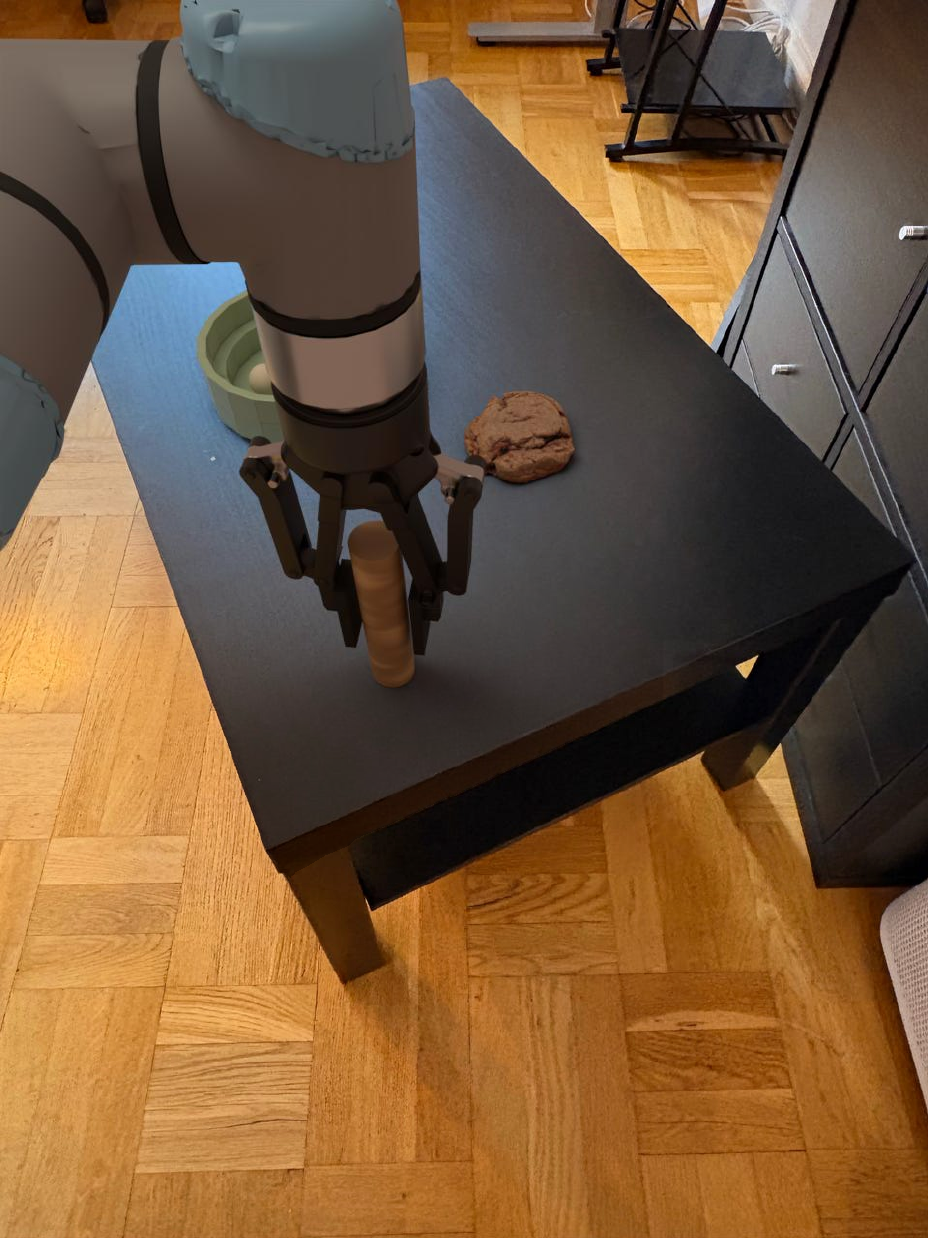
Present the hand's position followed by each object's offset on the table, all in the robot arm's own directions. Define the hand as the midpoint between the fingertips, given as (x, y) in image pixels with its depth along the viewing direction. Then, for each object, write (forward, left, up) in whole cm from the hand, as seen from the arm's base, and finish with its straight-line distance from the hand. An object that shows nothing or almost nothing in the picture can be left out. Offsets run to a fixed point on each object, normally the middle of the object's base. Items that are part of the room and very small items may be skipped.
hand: (388, 634), depth 59 cm
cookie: (+7, +25, -5) cm, 26 cm away
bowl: (-14, +30, -5) cm, 33 cm away
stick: (0, 0, -5) cm, 5 cm away
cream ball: (-17, +28, -2) cm, 33 cm away
